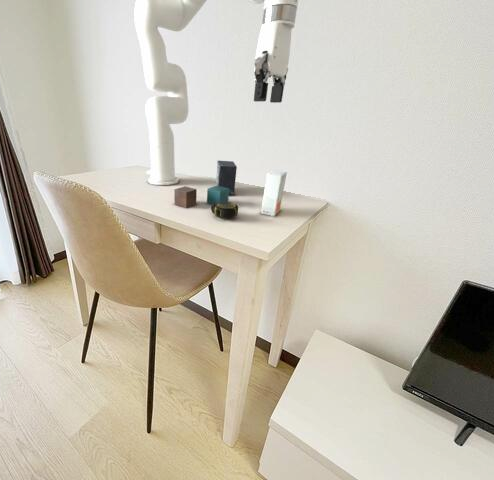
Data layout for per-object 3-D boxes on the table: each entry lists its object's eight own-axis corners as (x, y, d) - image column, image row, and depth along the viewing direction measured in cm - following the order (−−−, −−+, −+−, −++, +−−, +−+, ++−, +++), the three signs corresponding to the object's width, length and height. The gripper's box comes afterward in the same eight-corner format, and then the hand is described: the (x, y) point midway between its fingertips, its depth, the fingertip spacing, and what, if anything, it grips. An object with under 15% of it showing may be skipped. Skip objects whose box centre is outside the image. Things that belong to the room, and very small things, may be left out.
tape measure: (231, 211, 78) (232, 200, 76) (241, 220, 72) (242, 207, 71) (210, 213, 76) (210, 201, 75) (218, 222, 70) (219, 209, 69)
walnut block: (174, 204, 83) (174, 189, 81) (184, 200, 87) (185, 186, 84) (186, 208, 80) (186, 192, 78) (196, 204, 84) (196, 189, 82)
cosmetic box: (274, 216, 75) (281, 175, 70) (260, 213, 77) (266, 173, 72) (280, 210, 80) (287, 171, 74) (266, 208, 82) (272, 169, 76)
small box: (235, 195, 93) (237, 166, 88) (216, 195, 93) (218, 165, 88) (231, 187, 102) (234, 160, 97) (215, 187, 102) (216, 160, 97)
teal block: (206, 203, 85) (207, 188, 82) (215, 199, 88) (216, 185, 86) (219, 206, 82) (220, 191, 80) (228, 203, 85) (229, 188, 83)
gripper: (278, 30, 69) (268, 102, 77) (246, 13, 57) (239, 101, 65) (306, 26, 65) (293, 102, 73) (278, 6, 53) (266, 100, 61)
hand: (268, 101), depth 69 cm, fingers open, 9 cm apart
